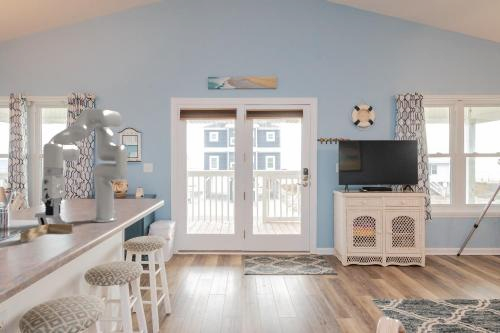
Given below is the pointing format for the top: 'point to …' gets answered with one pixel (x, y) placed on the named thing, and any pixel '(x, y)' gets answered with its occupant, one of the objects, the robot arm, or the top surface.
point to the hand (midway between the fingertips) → (52, 214)
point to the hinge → (50, 220)
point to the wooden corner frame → (45, 231)
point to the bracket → (56, 210)
